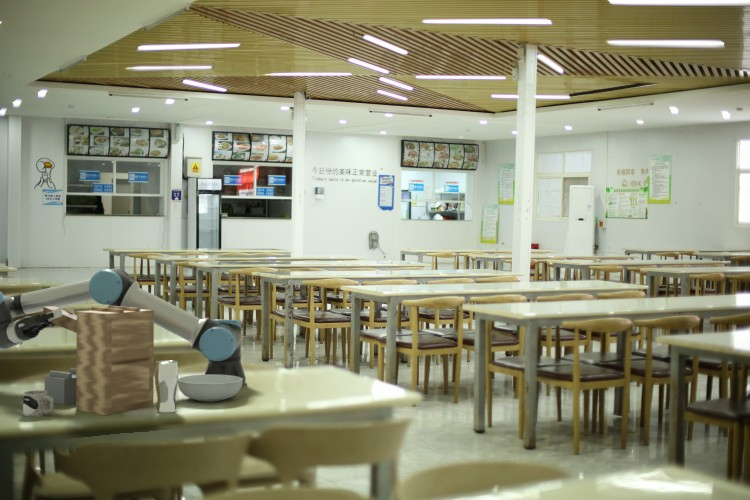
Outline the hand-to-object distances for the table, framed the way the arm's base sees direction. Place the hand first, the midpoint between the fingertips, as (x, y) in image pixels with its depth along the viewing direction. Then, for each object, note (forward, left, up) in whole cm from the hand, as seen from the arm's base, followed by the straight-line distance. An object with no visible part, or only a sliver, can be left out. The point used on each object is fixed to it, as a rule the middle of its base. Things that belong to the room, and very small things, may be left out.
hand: (66, 311), depth 289 cm
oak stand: (-21, +13, -28) cm, 38 cm away
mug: (-3, +26, -29) cm, 39 cm away
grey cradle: (-2, +2, -28) cm, 29 cm away
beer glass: (-38, +16, -29) cm, 50 cm away
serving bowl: (-46, -5, -29) cm, 54 cm away
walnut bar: (-2, +1, -5) cm, 5 cm away
